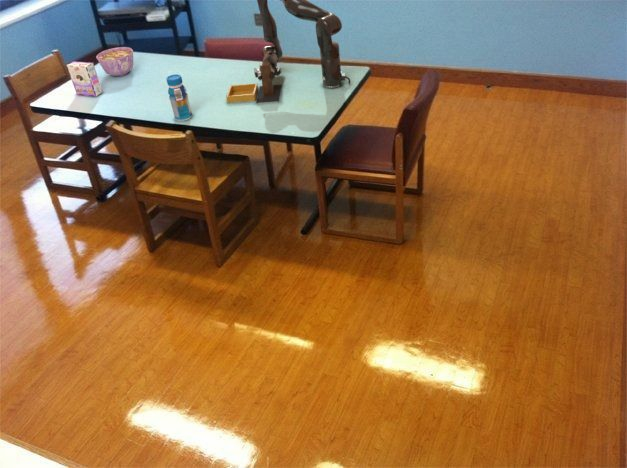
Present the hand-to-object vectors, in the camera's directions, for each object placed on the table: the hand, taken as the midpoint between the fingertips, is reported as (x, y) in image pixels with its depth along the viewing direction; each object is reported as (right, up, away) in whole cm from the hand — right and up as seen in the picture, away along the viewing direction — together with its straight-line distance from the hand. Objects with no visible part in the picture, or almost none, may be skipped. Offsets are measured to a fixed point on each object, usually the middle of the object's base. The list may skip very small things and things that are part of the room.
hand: (265, 78), depth 286 cm
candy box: (-96, 0, +31) cm, 101 cm away
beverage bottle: (-38, -20, -4) cm, 43 cm away
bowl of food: (-86, +16, +51) cm, 101 cm away
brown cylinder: (+1, -6, +7) cm, 9 cm away
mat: (+1, -6, +8) cm, 10 cm away
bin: (-12, -7, +9) cm, 16 cm away
